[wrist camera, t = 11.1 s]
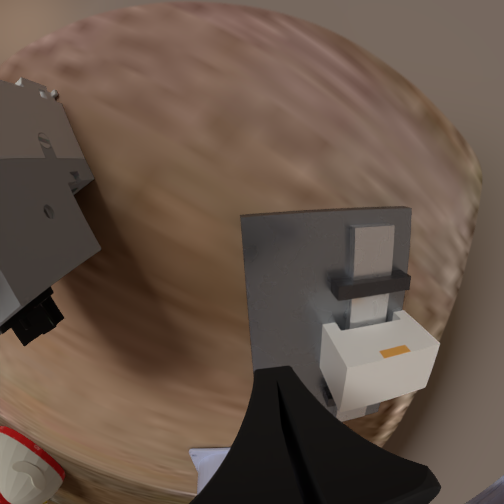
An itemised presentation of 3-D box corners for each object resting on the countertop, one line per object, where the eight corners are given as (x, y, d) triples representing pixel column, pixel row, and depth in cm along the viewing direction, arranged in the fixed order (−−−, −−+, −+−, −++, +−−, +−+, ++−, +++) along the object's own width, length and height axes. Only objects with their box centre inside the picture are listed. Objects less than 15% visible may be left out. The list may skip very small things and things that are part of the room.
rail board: (373, 405, 24) (383, 421, 22) (258, 427, 24) (260, 446, 21) (404, 206, 19) (423, 211, 16) (240, 214, 18) (241, 221, 16)
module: (395, 350, 21) (425, 387, 16) (319, 367, 21) (339, 412, 16) (403, 309, 20) (440, 343, 15) (322, 324, 20) (347, 367, 15)
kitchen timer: (48, 479, 28) (28, 533, 14) (-8, 432, 25) (-38, 484, 10) (78, 474, 27) (56, 544, 12) (8, 419, 23) (-30, 485, 9)
